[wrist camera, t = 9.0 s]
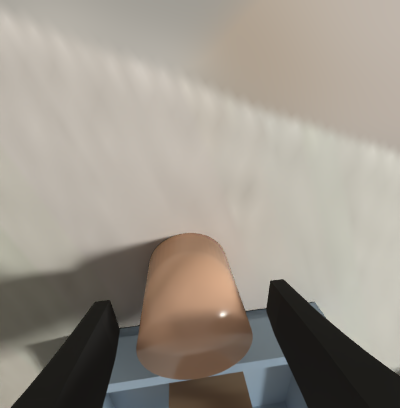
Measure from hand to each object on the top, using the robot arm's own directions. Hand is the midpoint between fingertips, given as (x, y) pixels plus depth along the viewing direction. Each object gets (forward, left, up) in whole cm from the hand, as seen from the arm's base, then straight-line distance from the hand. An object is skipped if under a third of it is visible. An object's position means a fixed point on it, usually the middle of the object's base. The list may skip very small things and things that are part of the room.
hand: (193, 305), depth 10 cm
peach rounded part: (0, 0, -3) cm, 3 cm away
